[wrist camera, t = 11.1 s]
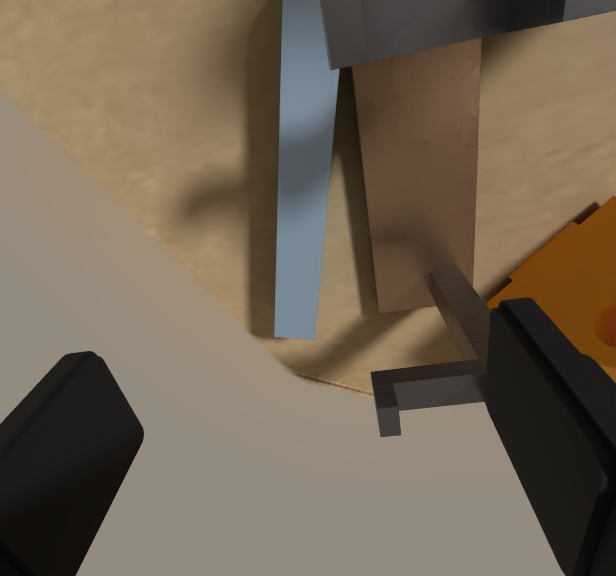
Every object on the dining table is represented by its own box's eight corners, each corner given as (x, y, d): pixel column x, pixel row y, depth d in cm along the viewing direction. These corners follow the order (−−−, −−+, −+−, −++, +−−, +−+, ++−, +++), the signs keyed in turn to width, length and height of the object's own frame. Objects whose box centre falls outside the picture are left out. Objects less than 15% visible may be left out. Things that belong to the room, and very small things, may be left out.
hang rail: (345, -28, 21) (350, -47, 17) (315, 310, 32) (314, 339, 28) (289, -32, 21) (283, -52, 17) (279, 307, 32) (274, 337, 28)
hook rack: (473, -29, 20) (754, -204, 7) (465, 290, 30) (578, 461, 17) (316, 8, 21) (312, -88, 8) (358, 305, 31) (386, 477, 18)
